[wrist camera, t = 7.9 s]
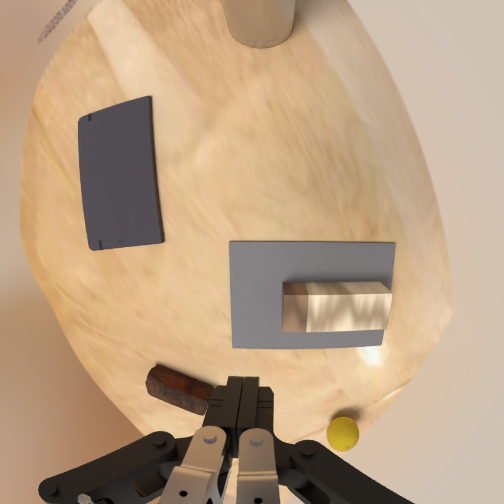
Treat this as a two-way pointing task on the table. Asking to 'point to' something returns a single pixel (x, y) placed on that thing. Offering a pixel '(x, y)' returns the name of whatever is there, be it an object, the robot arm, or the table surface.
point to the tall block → (334, 306)
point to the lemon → (343, 433)
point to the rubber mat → (298, 270)
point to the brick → (178, 389)
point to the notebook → (119, 176)
